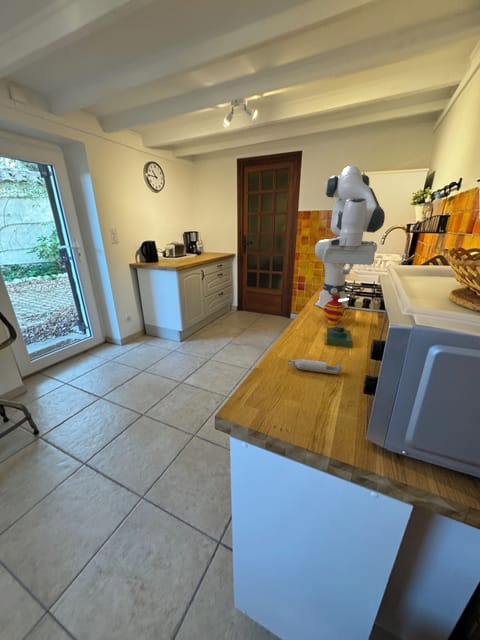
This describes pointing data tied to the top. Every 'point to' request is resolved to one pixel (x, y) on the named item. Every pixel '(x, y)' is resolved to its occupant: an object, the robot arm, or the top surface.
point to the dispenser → (338, 338)
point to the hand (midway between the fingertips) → (345, 274)
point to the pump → (339, 328)
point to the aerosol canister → (315, 366)
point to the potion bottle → (334, 309)
